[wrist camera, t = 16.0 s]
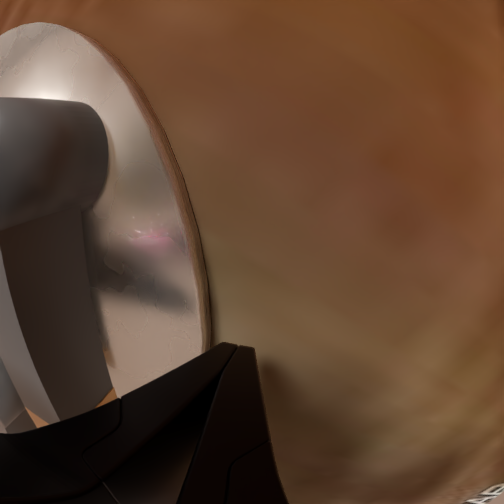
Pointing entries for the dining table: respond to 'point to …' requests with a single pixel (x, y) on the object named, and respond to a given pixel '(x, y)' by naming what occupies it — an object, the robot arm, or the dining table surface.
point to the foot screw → (50, 256)
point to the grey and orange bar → (12, 406)
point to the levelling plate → (124, 207)
